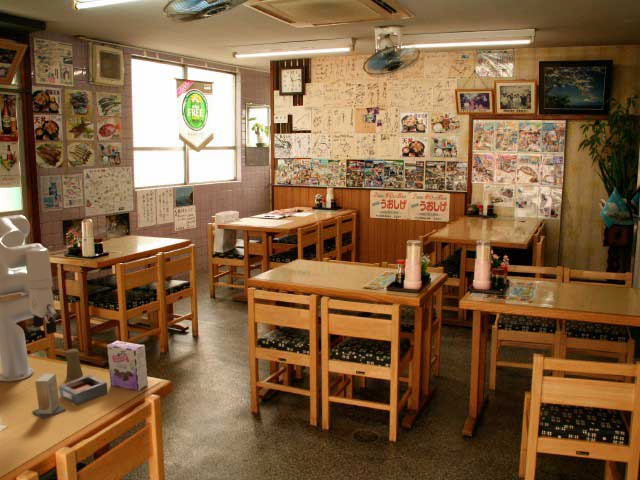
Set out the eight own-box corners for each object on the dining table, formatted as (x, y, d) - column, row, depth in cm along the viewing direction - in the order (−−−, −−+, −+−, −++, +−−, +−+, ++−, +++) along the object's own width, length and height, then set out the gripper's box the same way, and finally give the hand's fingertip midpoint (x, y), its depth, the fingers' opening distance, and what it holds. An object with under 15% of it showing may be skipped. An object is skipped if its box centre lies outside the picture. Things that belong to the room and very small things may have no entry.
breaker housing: (59, 397, 220) (58, 385, 219) (90, 385, 229) (89, 374, 228) (76, 406, 212) (75, 394, 211) (107, 394, 221) (106, 382, 221)
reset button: (70, 395, 220) (69, 390, 220) (88, 389, 226) (87, 384, 225) (80, 400, 216) (79, 395, 215) (98, 394, 221) (97, 388, 221)
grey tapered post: (77, 379, 235) (74, 353, 233) (63, 378, 236) (60, 352, 234) (86, 373, 241) (83, 347, 239) (72, 372, 242) (69, 346, 240)
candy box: (110, 386, 228) (105, 344, 225) (121, 380, 234) (117, 339, 231) (138, 391, 223) (134, 349, 219) (149, 385, 228) (145, 344, 225)
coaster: (32, 412, 209) (32, 411, 208) (55, 404, 215) (54, 402, 214) (43, 419, 203) (43, 417, 203) (66, 410, 209) (66, 408, 209)
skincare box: (48, 405, 212) (44, 373, 210) (60, 405, 212) (56, 373, 209) (38, 414, 206) (34, 380, 203) (50, 414, 205) (46, 380, 203)
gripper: (18, 280, 212) (23, 326, 215) (40, 290, 200) (45, 338, 204) (40, 276, 217) (44, 321, 221) (62, 285, 206) (67, 332, 210)
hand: (45, 329), depth 213 cm, fingers open, 9 cm apart
